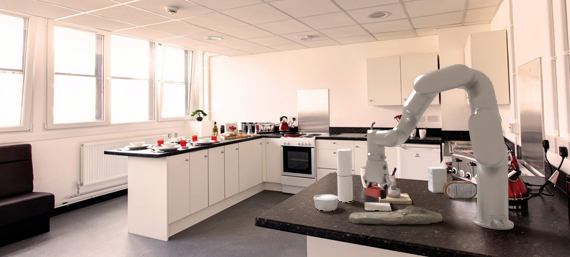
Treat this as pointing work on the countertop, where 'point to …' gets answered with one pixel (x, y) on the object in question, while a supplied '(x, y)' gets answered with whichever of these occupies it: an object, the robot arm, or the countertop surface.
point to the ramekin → (326, 202)
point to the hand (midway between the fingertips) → (376, 196)
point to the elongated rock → (397, 217)
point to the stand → (396, 196)
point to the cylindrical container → (344, 175)
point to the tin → (460, 189)
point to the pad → (378, 206)
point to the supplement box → (437, 179)
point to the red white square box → (374, 191)
